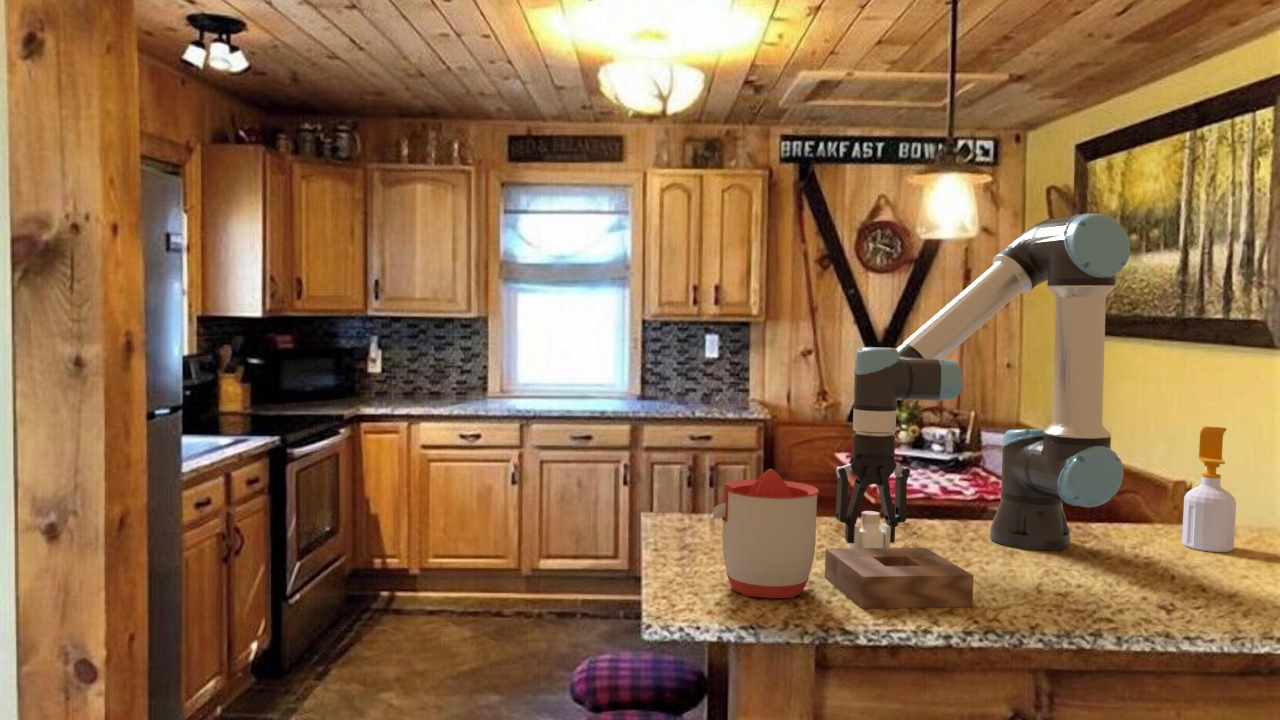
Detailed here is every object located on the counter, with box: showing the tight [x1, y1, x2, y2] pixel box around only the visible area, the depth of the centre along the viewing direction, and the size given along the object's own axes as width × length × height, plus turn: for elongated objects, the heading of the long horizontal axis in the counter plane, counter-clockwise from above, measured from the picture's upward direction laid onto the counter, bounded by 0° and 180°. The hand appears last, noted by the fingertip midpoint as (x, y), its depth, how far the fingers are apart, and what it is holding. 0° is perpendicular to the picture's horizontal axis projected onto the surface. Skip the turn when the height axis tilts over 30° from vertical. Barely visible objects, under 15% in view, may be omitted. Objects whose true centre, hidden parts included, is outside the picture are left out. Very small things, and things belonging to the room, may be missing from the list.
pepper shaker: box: [859, 510, 884, 548], centre depth 182 cm, size 4×4×10 cm
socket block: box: [824, 547, 974, 610], centre depth 165 cm, size 18×18×5 cm
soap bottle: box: [1181, 426, 1237, 553], centre depth 202 cm, size 9×9×25 cm
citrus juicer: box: [710, 468, 820, 599], centre depth 163 cm, size 16×17×20 cm
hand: (869, 560), depth 182 cm, fingers closed on pepper shaker, 5 cm apart
